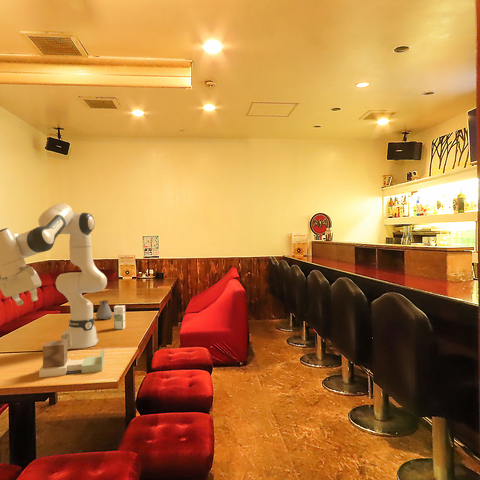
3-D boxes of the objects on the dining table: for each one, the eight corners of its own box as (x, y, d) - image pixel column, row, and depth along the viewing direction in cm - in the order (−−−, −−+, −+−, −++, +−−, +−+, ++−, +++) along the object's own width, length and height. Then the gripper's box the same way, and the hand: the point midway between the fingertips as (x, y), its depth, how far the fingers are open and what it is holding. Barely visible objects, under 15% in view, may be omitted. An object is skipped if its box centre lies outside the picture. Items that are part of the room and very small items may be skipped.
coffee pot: (96, 318, 269) (96, 297, 269) (113, 316, 273) (112, 296, 273) (94, 324, 249) (94, 301, 249) (112, 322, 252) (112, 300, 252)
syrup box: (125, 327, 238) (125, 304, 238) (123, 329, 232) (122, 306, 232) (116, 327, 238) (116, 305, 238) (113, 329, 232) (113, 306, 232)
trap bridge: (39, 377, 150) (39, 362, 150) (46, 367, 162) (45, 354, 162) (101, 371, 157) (101, 356, 157) (104, 362, 168) (103, 349, 168)
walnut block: (43, 368, 153) (42, 346, 153) (47, 362, 160) (47, 341, 160) (64, 366, 155) (63, 344, 155) (67, 360, 162) (67, 339, 162)
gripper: (37, 261, 141) (51, 295, 142) (7, 272, 150) (20, 304, 151) (22, 266, 135) (36, 301, 136) (-9, 277, 144) (5, 310, 146)
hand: (28, 302), depth 144 cm, fingers open, 8 cm apart
